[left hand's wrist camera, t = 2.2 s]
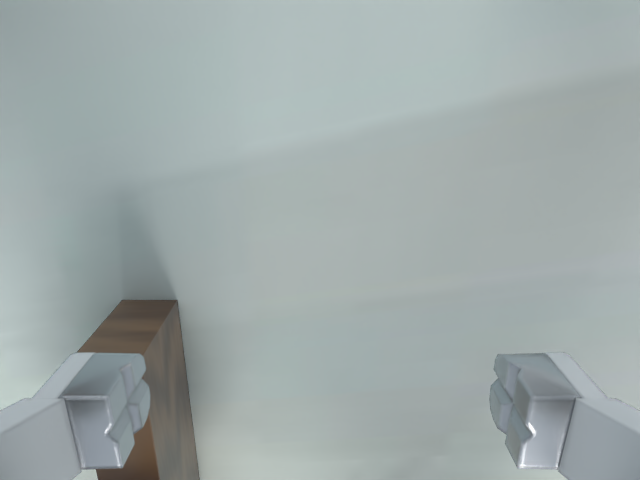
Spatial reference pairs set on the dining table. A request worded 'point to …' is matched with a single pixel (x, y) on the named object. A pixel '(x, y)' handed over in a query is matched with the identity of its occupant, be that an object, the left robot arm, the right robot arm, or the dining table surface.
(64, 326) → the dining table surface
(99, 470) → the bar
